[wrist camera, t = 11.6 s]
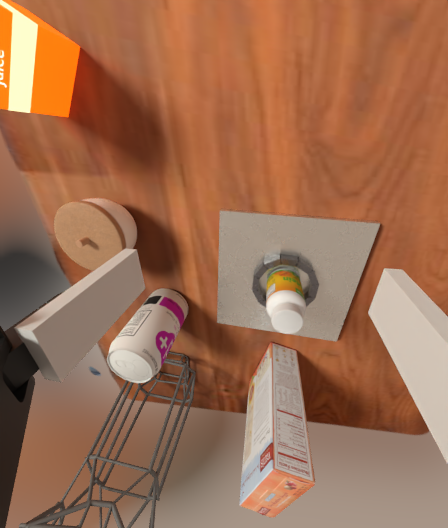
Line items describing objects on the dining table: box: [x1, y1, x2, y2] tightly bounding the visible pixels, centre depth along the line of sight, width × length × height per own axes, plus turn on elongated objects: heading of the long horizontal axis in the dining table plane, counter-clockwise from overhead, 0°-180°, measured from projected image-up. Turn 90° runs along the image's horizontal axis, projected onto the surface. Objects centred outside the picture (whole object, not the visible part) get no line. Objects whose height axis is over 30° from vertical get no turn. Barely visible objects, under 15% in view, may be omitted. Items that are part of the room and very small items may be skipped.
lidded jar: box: [54, 198, 137, 271], centre depth 35 cm, size 11×11×9 cm
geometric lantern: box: [19, 352, 196, 528], centre depth 39 cm, size 16×16×35 cm
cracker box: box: [240, 342, 315, 517], centre depth 40 cm, size 14×6×21 cm, turn 165°
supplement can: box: [107, 288, 188, 383], centre depth 39 cm, size 8×8×15 cm
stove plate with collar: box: [217, 209, 380, 341], centre depth 37 cm, size 22×22×3 cm
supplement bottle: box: [266, 268, 306, 334], centre depth 33 cm, size 5×5×10 cm
